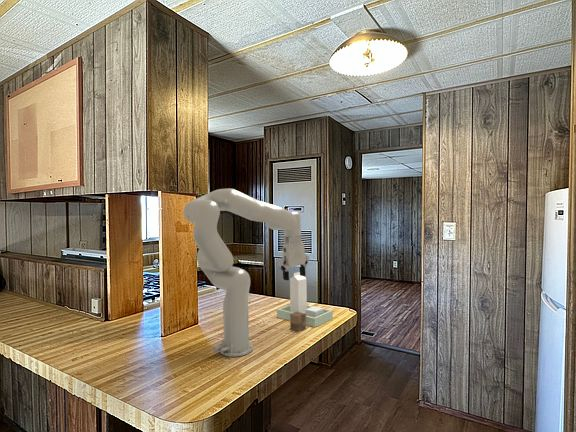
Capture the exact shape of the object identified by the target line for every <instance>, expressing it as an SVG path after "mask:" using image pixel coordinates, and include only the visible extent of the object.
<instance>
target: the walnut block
mask: <svg viewBox="0 0 576 432" xmlns="http://www.w3.org/2000/svg"><path fill="white" fill-rule="evenodd" d="M289 323H290V325H289V327H290V331H293V332H294V331H295V332H297V333H300V331H301V332H303V331H305V330H307V325H306V313H302V312H298V311H297V312H294V313H292V314H290V321H289Z"/></svg>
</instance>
